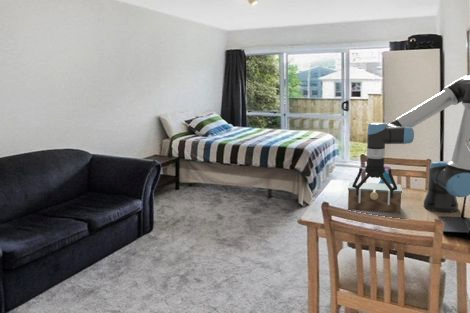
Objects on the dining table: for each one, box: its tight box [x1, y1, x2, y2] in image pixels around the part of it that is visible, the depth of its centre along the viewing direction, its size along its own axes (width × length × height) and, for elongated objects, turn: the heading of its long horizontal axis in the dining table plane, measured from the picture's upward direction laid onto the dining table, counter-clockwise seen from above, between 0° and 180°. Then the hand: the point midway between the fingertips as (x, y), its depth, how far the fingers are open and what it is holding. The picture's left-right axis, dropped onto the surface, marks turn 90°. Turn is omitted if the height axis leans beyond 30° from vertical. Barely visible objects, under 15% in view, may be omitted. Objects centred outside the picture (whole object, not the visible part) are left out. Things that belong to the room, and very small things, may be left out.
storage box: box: [347, 189, 402, 214], centre depth 200 cm, size 24×12×10 cm, turn 71°
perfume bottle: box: [378, 165, 392, 184], centre depth 223 cm, size 9×9×15 cm
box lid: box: [347, 181, 403, 200], centre depth 194 cm, size 25×23×4 cm
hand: (373, 203), depth 185 cm, fingers open, 12 cm apart
